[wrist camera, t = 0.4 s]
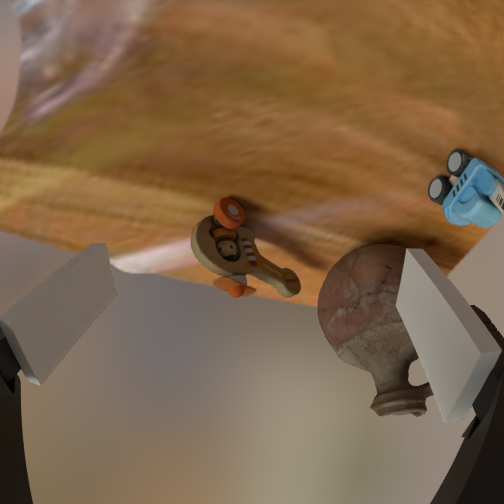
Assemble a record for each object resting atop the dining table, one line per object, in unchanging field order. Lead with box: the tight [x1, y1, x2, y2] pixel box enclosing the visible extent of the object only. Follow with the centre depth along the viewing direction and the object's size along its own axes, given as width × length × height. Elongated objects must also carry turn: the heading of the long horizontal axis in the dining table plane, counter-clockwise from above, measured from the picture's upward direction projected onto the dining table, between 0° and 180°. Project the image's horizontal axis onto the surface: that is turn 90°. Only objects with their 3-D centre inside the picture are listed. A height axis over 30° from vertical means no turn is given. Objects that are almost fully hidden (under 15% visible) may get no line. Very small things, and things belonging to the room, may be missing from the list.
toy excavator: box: [428, 150, 504, 228], centre depth 33 cm, size 9×17×17 cm, turn 165°
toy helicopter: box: [191, 198, 301, 297], centre depth 49 cm, size 8×21×14 cm, turn 51°
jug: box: [318, 244, 434, 417], centre depth 46 cm, size 22×22×30 cm
